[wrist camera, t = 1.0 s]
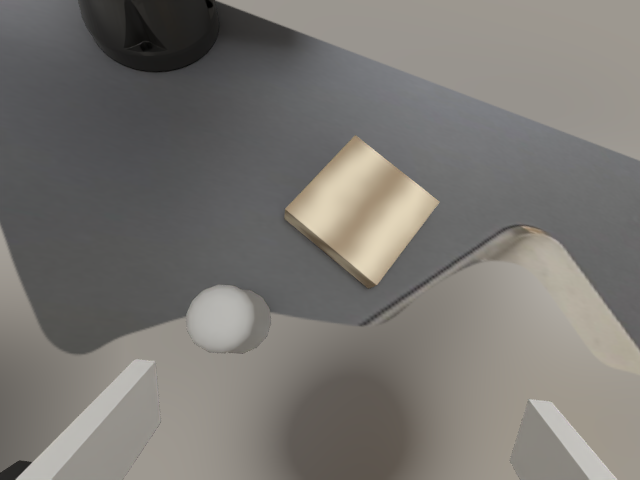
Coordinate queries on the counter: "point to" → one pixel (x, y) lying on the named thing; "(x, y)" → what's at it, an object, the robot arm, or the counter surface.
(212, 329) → the salt shaker
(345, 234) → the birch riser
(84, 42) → the counter surface
